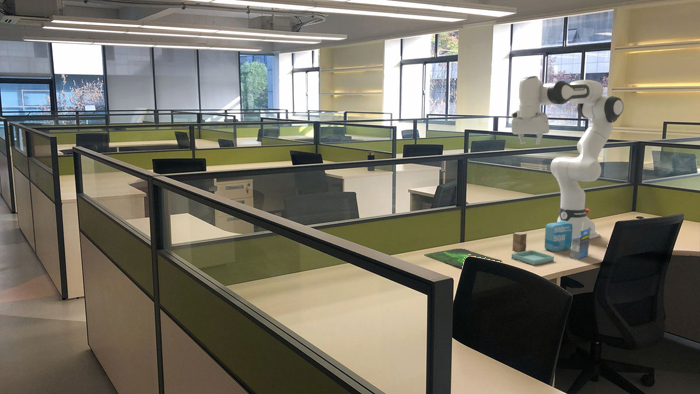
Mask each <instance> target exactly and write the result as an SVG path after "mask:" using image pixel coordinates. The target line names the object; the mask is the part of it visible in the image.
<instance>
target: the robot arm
mask: <svg viewBox="0 0 700 394" xmlns="http://www.w3.org/2000/svg"><path fill="white" fill-rule="evenodd" d="M518 85H519V87H518V98H519V99H518V100H519V108H518V110H516V111H514V112H513V113H511V118H512V120H511V132H512V134H513V135H517V136H518V139H519V140H520V141H519V142H520V145H526V143H527V142H526V139H525V138H524V137H525V135H536V140H534V142H535V144H534V145H541V140H542V139H543V136H544V135H543V134H549V132H550V124H549V118H548V115H547V113H545V112H541V106H549V105H550V106H551V105H564V104H566V103H568V102H570V103H572V104H576V105H577V106H576V108H577V109H576V111H577V114H578V115H579V117H581V118H583V119H587V120H588V119H591V123H590V125H589V126H588V127H587V129H586V130H585V131H584V133H583V135H582V136H581V137H580V139H579V140H578V142H577V144H576V148H577V151H578V153H579V155H578V156H577V157H576V156H575V157H574V156H567V155H566V156H565V155H563V156H557V157H554V158H553V160H552V161H551V163H550V168H549V169H550V172H551V174H552V175H553V176H554V178H555V179H556V181H557V183H558V186H559V191H560V206H559V208H558V215H559V216H558V217H557V221H556V222H567V223H571V224H572V226H573V228H572V239H574V238H576V237H579V236H581V234H580V231H583V230H586V229H589V228H590V237H589V240H592V239H595V238H598V237H600V236H601V234H600V232H596V224H595V223H594V221H592V220H591V219H590V218H589V217H588V216H587V214H590V212H591V209H589V208H585V207H586V206H585V205H586V191H584V189H583V188H581V186H580V184H579V182H584V183H585V182H594V181H597V180H598V179H599V178H600V177H601V173H602V166H601V164H600V162H599V160H598V159H599V156H600V153H601V152H602V149H603V148H604V147H605V145H606V143H607V141H608V140H609V138H610V136H611V133H612V130H613V123H615V122H616V121H617V120H618V119H619V118H620V116H621V115H622V114H623V111H624V102H623V100H622V99H621V98H620V97H618V96H616V95H615V96H614V95H611V96H610V95H609V96H608V95H603V94H604V87H603V85H602V84H601V83H600V82H599V81H597V80H592V79H591V80H590V79H579V80H578V79H577V80H574V81H572V82H566V81H565V80H560V81H559V80H558V81H553V82H547V83H545V82H543V81H541V80H540V79H539V77H538V75H537V76H536V75H532V76H526V77H524V78H523V77H522V78H521V80H520V81H519V84H518ZM578 181H579V182H578ZM586 233H587V232H585V233H584V234H586Z"/></svg>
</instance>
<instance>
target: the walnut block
mask: <svg viewBox="0 0 700 394" xmlns="http://www.w3.org/2000/svg"><path fill="white" fill-rule="evenodd" d="M511 250H512V251H513V252H515V253H519V252H524V251H527V233H524V232H521V231H519V232H513V234H512V249H511Z"/></svg>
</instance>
